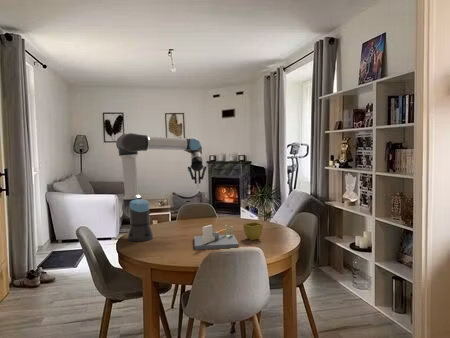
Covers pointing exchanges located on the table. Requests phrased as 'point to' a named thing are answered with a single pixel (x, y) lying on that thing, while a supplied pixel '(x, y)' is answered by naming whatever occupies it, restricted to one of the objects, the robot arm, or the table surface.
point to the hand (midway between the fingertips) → (197, 186)
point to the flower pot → (253, 230)
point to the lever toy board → (217, 241)
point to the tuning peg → (210, 234)
